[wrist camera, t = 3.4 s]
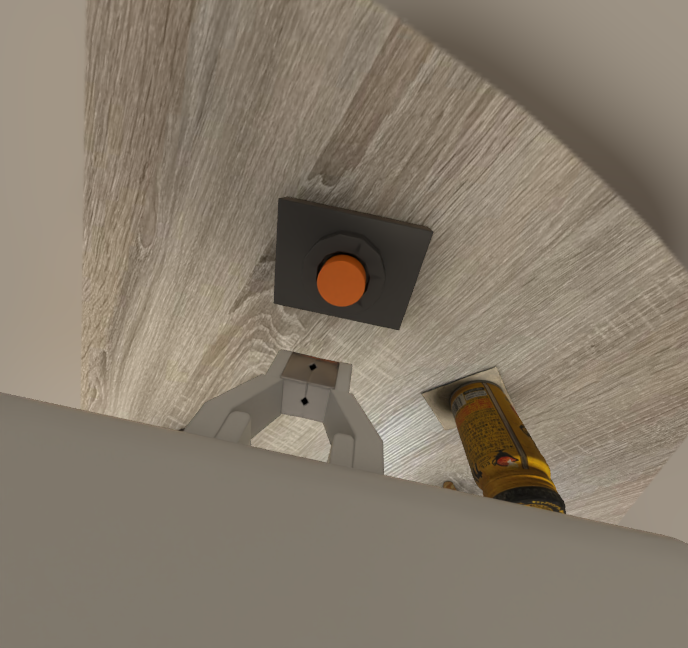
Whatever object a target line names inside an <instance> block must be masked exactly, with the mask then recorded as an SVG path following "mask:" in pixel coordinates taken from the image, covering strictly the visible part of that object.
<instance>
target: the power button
mask: <svg viewBox="0 0 688 648" xmlns="http://www.w3.org/2000/svg"><path fill="white" fill-rule="evenodd" d="M365 283H366V273H365V270H364V267H363V266H362V264H361V263H360V262H359V261H358V260H357V259H356V258H354V257H352V256H349V255H336V256H333V257H331V258H330V259H329V260H327V261H326V262H325V264H324V265H323V267H322V269H321V270H320V272H319V274H318V278H317V287H318V291H319V293H320V295H321V296H322V297H323V298H324V299H325V300H326V301H327V302H328V303H330V304H332V305H335V306H342V307H343V306H349V305H352V304H354V303H356V302H357V301H358V300H359V299H360V298H361V297H362V295H363V293H364V290H365Z"/></svg>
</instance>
